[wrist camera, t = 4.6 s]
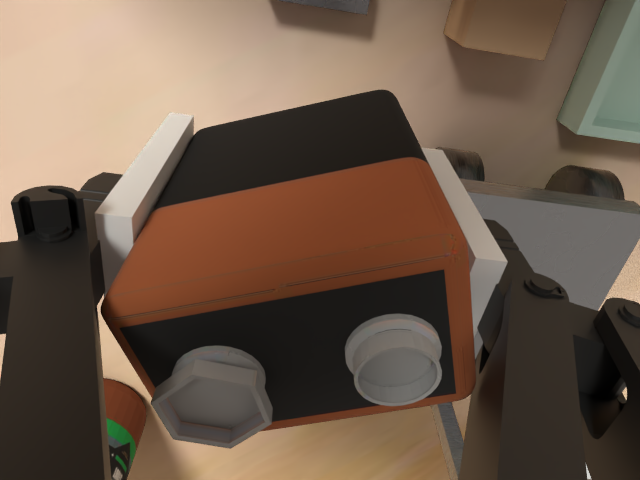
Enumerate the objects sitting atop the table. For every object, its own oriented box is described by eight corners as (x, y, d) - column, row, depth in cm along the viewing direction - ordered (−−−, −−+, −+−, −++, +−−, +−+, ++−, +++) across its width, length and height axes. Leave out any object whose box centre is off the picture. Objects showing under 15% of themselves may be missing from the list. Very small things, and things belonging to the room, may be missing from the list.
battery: (190, 126, 16) (60, 345, 8) (393, 81, 15) (490, 268, 7) (231, 235, 18) (165, 492, 10) (409, 199, 18) (496, 445, 9)
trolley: (433, 134, 29) (539, 297, 16) (591, 156, 30) (813, 327, 17) (388, 293, 35) (437, 505, 22) (520, 307, 36) (642, 518, 23)
